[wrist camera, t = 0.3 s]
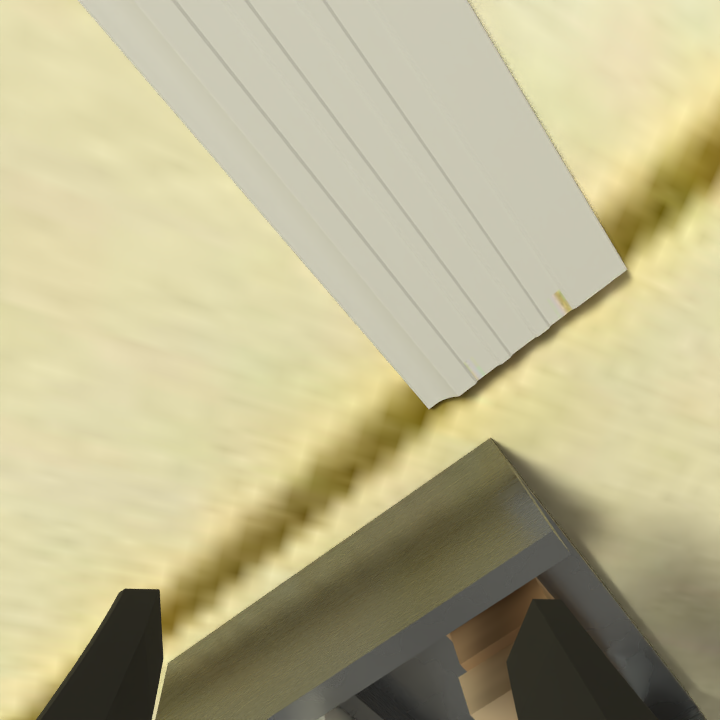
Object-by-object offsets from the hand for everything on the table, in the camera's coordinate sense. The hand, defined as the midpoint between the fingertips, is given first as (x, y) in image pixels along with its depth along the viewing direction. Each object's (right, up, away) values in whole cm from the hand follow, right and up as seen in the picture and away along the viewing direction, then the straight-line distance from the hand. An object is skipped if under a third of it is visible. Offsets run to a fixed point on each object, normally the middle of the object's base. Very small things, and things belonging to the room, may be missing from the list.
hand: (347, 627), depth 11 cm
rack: (+5, -10, +16) cm, 20 cm away
